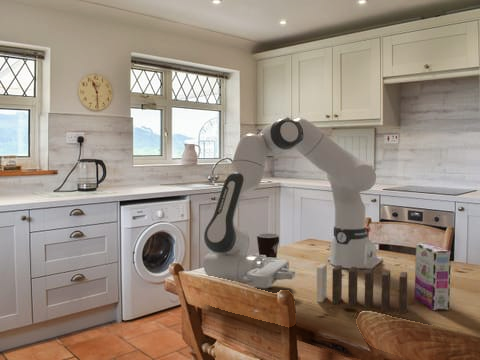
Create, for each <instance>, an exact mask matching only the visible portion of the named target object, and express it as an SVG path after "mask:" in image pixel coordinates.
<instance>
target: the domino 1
mask: <svg viewBox="0 0 480 360" xmlns="http://www.w3.org/2000/svg"><path fill="white" fill-rule="evenodd" d="M331 279H332V281H331V283H332V287H331V288H332V292H331V294H332V297H331V299H332V301H331V302H332V305H339V304H340V302H341V301H342V299H343V297H342V296H343V293H342V291H343V289H342V288H343V287H342V286H343V284H342V283H343V268H342V266H340V265H336V266H334V267H333V269H332V278H331Z"/></svg>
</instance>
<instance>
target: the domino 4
mask: <svg viewBox="0 0 480 360" xmlns="http://www.w3.org/2000/svg"><path fill="white" fill-rule="evenodd" d="M390 296H391V270H388V269H384V270H383V272H382V274H381V310H380V311H381V312H388V311H389V309H390V305H391V301H390V299H391V297H390Z"/></svg>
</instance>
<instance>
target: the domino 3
mask: <svg viewBox="0 0 480 360" xmlns="http://www.w3.org/2000/svg"><path fill="white" fill-rule="evenodd" d="M374 269H375V268H366V271H364V309H369V310H372V307H373V305H374V283H375V282H374V280H375V279H374V274H375V273H374Z"/></svg>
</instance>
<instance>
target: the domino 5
mask: <svg viewBox="0 0 480 360" xmlns="http://www.w3.org/2000/svg"><path fill="white" fill-rule="evenodd" d="M398 287H399V288H398V289H399V290H398V295H399V296H398V314H403V315H406V312H407V307H408V303H407V302H408V272H406V271H401V272H400V274H399V281H398Z"/></svg>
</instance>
